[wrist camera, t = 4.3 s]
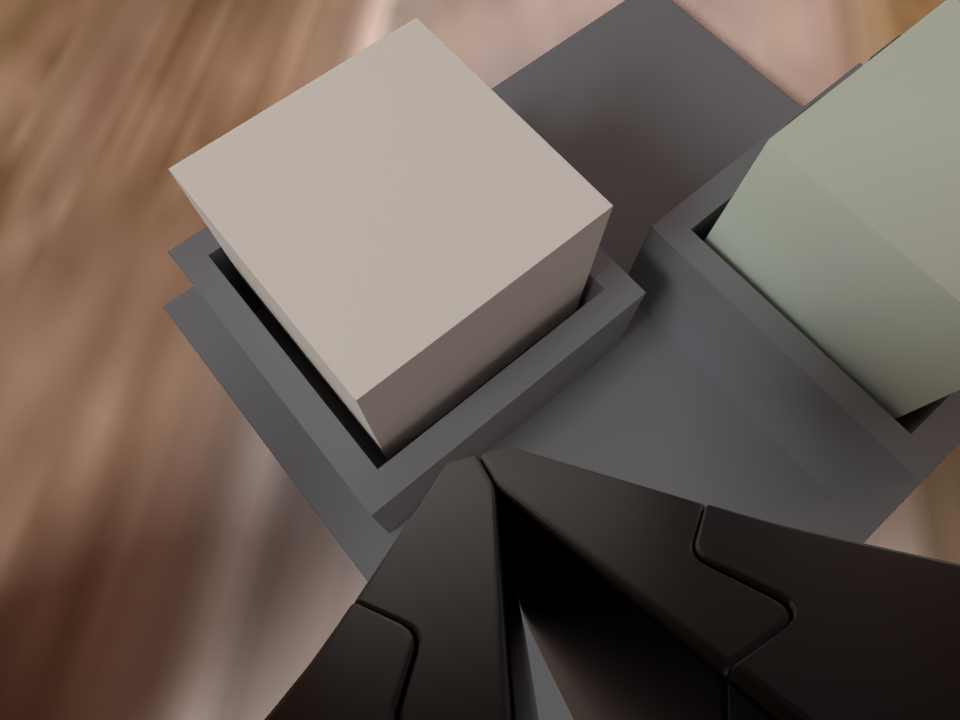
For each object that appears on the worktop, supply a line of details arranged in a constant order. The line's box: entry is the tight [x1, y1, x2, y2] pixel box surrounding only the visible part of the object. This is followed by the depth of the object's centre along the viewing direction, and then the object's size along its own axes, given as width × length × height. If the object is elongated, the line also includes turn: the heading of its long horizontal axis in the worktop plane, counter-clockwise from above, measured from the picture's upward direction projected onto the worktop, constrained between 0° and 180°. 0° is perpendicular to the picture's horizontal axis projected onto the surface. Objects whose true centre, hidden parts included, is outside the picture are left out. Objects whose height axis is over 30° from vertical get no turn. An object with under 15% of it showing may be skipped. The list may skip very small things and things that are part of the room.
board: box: [164, 0, 960, 720], centre depth 21 cm, size 20×23×5 cm
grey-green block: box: [704, 0, 960, 419], centre depth 18 cm, size 7×7×6 cm
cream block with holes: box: [169, 18, 613, 460], centre depth 18 cm, size 7×7×6 cm
